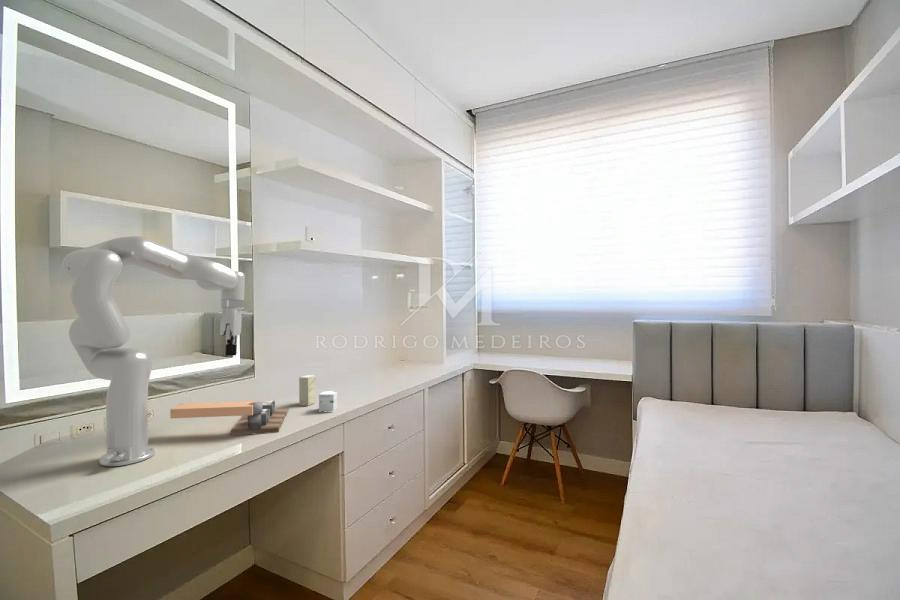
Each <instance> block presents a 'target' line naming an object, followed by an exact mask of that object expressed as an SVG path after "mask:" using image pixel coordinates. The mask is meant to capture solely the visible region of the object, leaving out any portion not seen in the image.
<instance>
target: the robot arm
mask: <svg viewBox="0 0 900 600" xmlns="http://www.w3.org/2000/svg"><path fill="white" fill-rule="evenodd" d="M61 261H62V262H61V269H62V271H63V273H64V274H65V275H66V276H67V277H68V278H70V279H72V280H73V283H72V286H71V291H70V300H71V303H72V306H73V308H74V311H75V313H76V314H77V318H76V319H74V320H73V322H72V323H71V324H70V326H69V330H68V337H69V339H70V342H71V344H72V346H73V348H74V350H75V351H76V353H77V355H78V357H79V359H80V360H81V362H82V363H83V365H84V366H85V368H86V369H87V372H89V374H90V375H92V376H93V377H95V378H97V379H99V380H100V379H101V380H104V381H105V380H106V381H110V382H109V383H110V384H109V386H108V389H107V390H106V391H107V392H106V396H105V413H106V414H105V421H106V422H105V424H106V425H105V429H106V430H105V431H106V432H105V435H106V437H105V438H106V439H105V440H106V441H105V444H106V449H105V450H106V453H105V454H104V455H102V456H101V457H99V460H98V463H99V464H98V465H100V466H103V467H119V466H126V465H132V464H136V463H139V462H142V461H145V460H147V459H149V458H151V457H153V456H154V455H155V451H156V449H155V448H154V447H152V446H150V445H149V384H150V383H149V382H150V378H151V373H152V360H151V357H150V355H148V353H146V352H145V351H143V350H141V349H138V348H132V347H131V348H130V347H122V346H124V345H126V344H127V343H128V341H129V340H130V338H131V331H130V330H131V329H130V327H129V325H128V324H127V322H126V319H125V318H124V316H123V314H122V311H121V310H120V308H119V306H118V305H117V302H116V300H115V298H114V295H113V288H114V284H115V282H116V280H117V279H118V277H119V276H120V274H121V272H122V270H123V267H125V266H136V267H137V266H138V267H140V268H143V269H147V270H148V271H149V270H150V271H152V272H155V273H158V274H160V275H164V276H167V277H169V278H173V279H179V280H186V281H187V280H188V281H195V282H196V284H197V286H198V287H200V289H203V290H206V291H221V294H220V295H221V296H220V297H221V298H220V309H221V314H220V315H221V316H220V325H219V326H220V328H219V329H220V330H219V335H220V337H225V356H227V357H228V356H236V355H237V353H238V352H237V349H238V336H240V335H241V334H242V315H243V314H242V310H245V289H246V288H245V285H246V284H245V283H246V277H245V273H244V272H242V271H235V270H233V269H232V268H230V267H228V266H226V265H224V264H221V263H219V262H216V261H213V260H210V259H206V258H202V257H198V256H195V255H193V254H192V255H191V254H188V253H185V252H182V251H179V250H177V249H174V248H171V247H169V246H167V245H164V244H162V243H160V242H157V241H154V240H153V239H149V238H147V237H143V236H138V235H137V236H135V235H134V236H132V235H131V236H122V237H121V236H120V237H116V238H115V237H114V238H112V239H109V240H106V241H102V242H100V243H96V244H93V245H90V246H87V247H83V248H80V249H77V250H73V251H71V252H70V253H68V254H67V255H65V256H64V258H63V259H62V260H61Z"/></svg>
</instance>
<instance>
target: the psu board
mask: <svg viewBox="0 0 900 600" xmlns="http://www.w3.org/2000/svg"><path fill="white" fill-rule="evenodd" d="M260 402H262V403H263V412H262V413H259V414H253V415H247V416H241V418H240V419H239V420H238V422H236V424H235V425H234V426H233V427H232V429H231V430H230V436H242V435H241V434H245V435H253V434H252V433H258V434H266V433H265V432H271V433H280V431H281V428H282V426H283V424H284V422H285V420H284V419H286V418H285V417H287V415H288V413H289V407H281V408H279V407H278V408H276V400H265V401H260ZM283 421H284V422H283Z"/></svg>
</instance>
